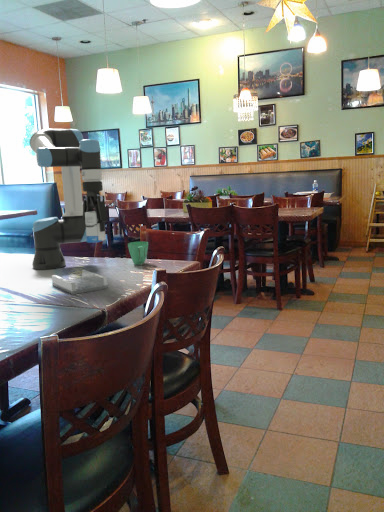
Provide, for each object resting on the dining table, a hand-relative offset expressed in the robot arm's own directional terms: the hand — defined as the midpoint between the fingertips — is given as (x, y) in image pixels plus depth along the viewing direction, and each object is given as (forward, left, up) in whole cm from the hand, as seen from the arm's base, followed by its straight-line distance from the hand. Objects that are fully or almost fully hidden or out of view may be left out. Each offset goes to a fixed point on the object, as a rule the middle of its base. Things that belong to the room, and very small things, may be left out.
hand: (96, 238), depth 176 cm
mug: (-20, +31, -18) cm, 41 cm away
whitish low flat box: (+2, -9, -18) cm, 20 cm away
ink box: (0, 0, -1) cm, 1 cm away
